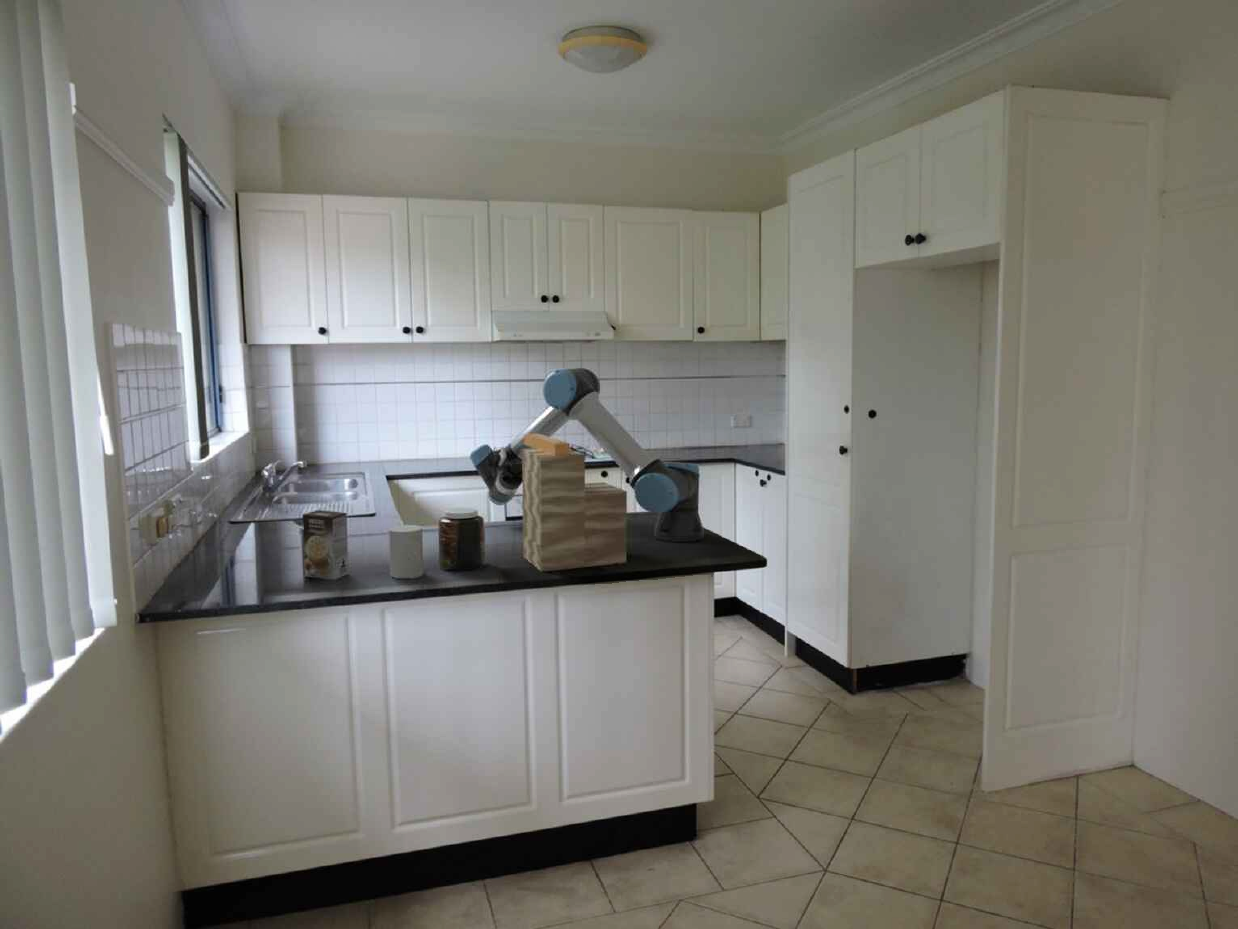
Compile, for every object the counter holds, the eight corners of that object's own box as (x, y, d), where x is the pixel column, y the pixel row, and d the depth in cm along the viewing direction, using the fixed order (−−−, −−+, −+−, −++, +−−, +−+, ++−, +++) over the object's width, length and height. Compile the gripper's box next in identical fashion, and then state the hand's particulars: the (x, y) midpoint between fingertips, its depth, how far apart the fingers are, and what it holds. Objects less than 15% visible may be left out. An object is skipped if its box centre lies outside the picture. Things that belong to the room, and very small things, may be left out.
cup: (414, 579, 210) (413, 532, 209) (384, 577, 212) (383, 531, 210) (428, 571, 218) (427, 525, 217) (399, 569, 220) (397, 524, 218)
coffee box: (303, 576, 212) (300, 514, 210) (320, 570, 218) (317, 509, 216) (333, 580, 209) (331, 516, 207) (350, 574, 215) (347, 512, 213)
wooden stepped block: (626, 562, 228) (626, 452, 224) (540, 571, 219) (539, 456, 214) (602, 548, 243) (602, 445, 239) (521, 556, 234) (520, 449, 230)
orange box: (569, 454, 218) (569, 443, 218) (554, 455, 216) (554, 444, 216) (538, 444, 242) (538, 433, 241) (524, 444, 240) (524, 434, 240)
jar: (463, 574, 216) (462, 516, 214) (430, 567, 222) (428, 511, 220) (493, 564, 226) (493, 509, 224) (461, 558, 232) (459, 504, 230)
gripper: (550, 487, 265) (570, 461, 247) (472, 492, 256) (486, 465, 237) (546, 465, 268) (565, 437, 250) (468, 469, 258) (483, 441, 240)
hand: (527, 451), depth 244 cm, fingers open, 13 cm apart
